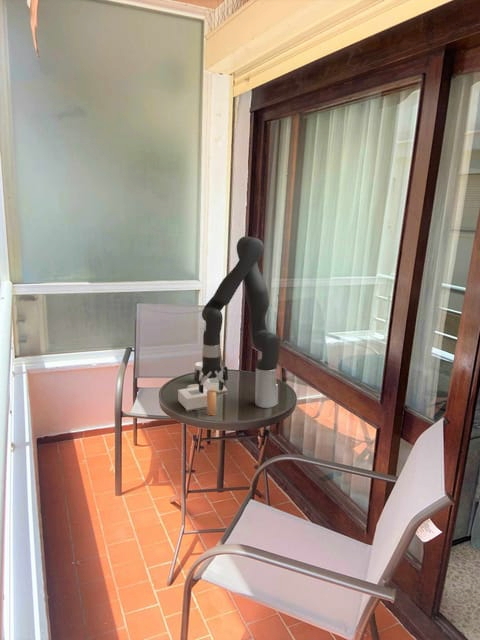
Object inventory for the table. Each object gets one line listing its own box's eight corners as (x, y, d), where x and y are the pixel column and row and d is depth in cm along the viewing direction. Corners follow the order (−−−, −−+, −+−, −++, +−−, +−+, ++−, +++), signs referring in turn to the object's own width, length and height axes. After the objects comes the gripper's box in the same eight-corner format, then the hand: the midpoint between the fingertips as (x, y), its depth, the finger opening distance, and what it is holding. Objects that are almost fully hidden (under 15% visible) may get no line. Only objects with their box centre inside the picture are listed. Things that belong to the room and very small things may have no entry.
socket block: (203, 398, 224) (203, 385, 222) (212, 407, 213) (212, 394, 212) (178, 402, 219) (178, 389, 217) (187, 412, 208) (186, 399, 207)
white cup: (193, 381, 245) (193, 362, 243) (208, 379, 249) (208, 361, 246) (198, 386, 238) (198, 367, 236) (213, 384, 241) (213, 365, 239)
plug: (214, 411, 209) (214, 389, 207) (217, 414, 205) (217, 392, 203) (205, 412, 207) (205, 390, 205) (209, 416, 204) (208, 394, 202)
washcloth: (228, 394, 229) (228, 388, 229) (191, 399, 224) (191, 392, 223) (222, 386, 240) (222, 380, 240) (186, 390, 235) (186, 384, 234)
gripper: (223, 350, 207) (223, 386, 210) (192, 353, 201) (192, 390, 204) (230, 355, 200) (230, 392, 204) (198, 358, 194) (198, 396, 197)
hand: (211, 391), depth 204 cm, fingers open, 8 cm apart
